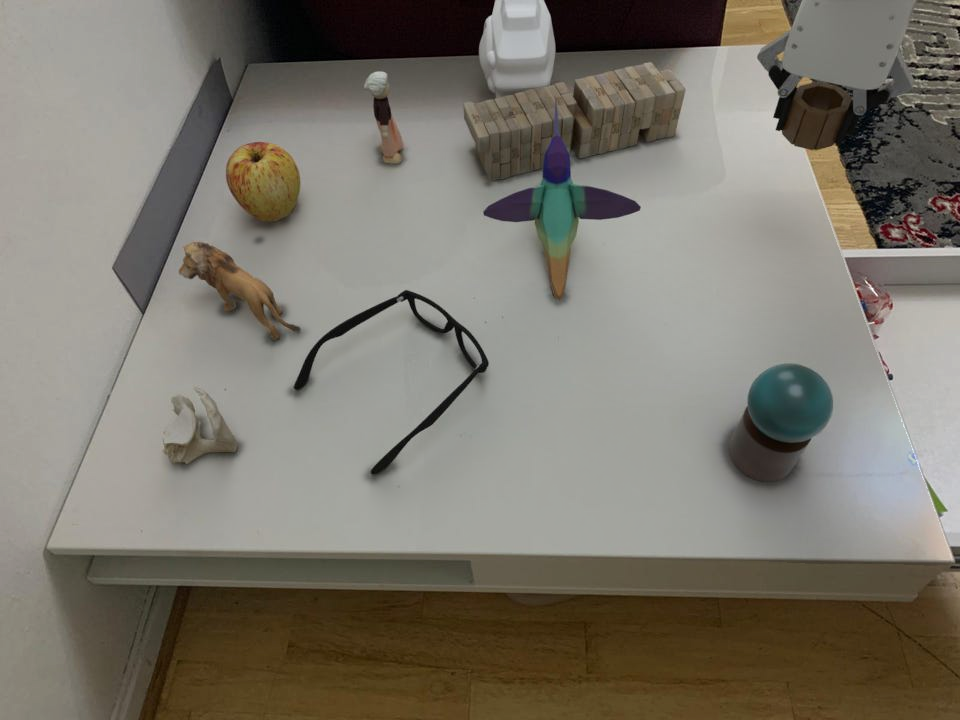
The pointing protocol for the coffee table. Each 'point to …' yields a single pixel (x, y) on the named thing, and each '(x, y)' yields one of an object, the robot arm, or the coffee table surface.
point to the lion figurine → (232, 283)
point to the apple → (263, 180)
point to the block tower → (575, 118)
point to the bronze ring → (816, 115)
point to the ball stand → (780, 421)
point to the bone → (195, 431)
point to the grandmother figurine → (385, 117)
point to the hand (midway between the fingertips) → (810, 129)
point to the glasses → (449, 326)
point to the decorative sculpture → (559, 209)
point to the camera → (517, 47)
